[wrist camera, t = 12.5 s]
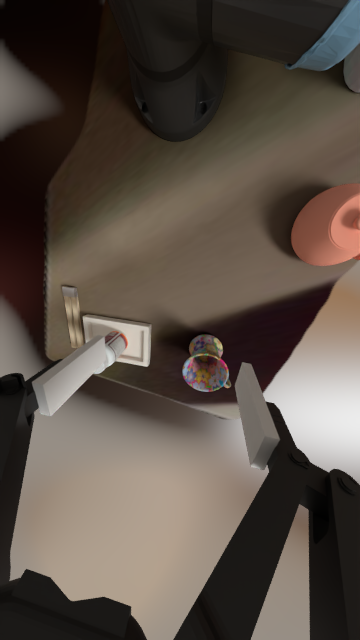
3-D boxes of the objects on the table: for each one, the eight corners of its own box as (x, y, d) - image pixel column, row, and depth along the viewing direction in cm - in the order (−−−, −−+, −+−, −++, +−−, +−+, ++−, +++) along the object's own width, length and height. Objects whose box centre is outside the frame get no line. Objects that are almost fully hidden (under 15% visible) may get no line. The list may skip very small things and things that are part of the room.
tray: (87, 314, 46) (82, 316, 44) (151, 324, 44) (148, 327, 42) (91, 351, 51) (87, 355, 49) (149, 362, 49) (147, 366, 47)
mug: (181, 348, 45) (173, 373, 36) (204, 324, 42) (203, 345, 32) (214, 374, 47) (216, 406, 37) (239, 353, 43) (248, 382, 34)
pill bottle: (105, 342, 48) (76, 366, 37) (112, 325, 46) (83, 346, 35) (124, 353, 48) (100, 380, 38) (132, 337, 46) (109, 361, 35)
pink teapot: (329, 174, 29) (387, 135, 20) (382, 229, 31) (461, 218, 21) (271, 237, 34) (296, 230, 24) (320, 283, 35) (362, 293, 26)
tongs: (65, 286, 44) (61, 286, 43) (76, 287, 44) (73, 288, 43) (74, 345, 51) (71, 347, 50) (84, 347, 51) (81, 349, 49)
